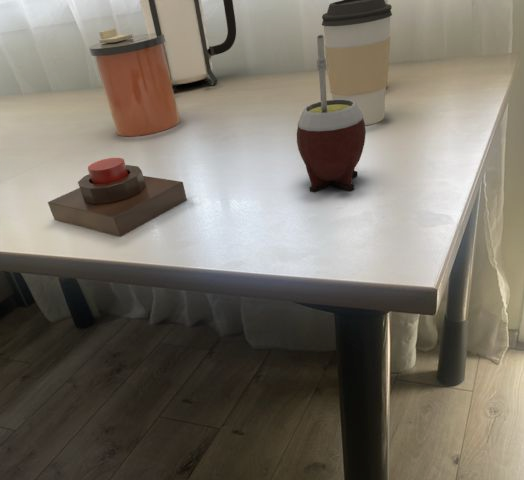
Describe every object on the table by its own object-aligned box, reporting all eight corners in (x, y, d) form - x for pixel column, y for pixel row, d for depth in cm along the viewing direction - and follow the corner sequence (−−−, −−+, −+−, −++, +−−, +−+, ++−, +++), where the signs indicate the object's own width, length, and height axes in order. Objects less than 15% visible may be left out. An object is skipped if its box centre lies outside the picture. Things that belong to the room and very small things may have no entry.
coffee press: (197, 94, 107) (160, -98, 89) (140, 95, 115) (95, -81, 97) (244, 74, 118) (219, -101, 100) (189, 76, 126) (157, -86, 108)
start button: (85, 184, 59) (80, 168, 57) (113, 171, 61) (108, 156, 60) (107, 188, 56) (102, 171, 55) (136, 175, 59) (131, 159, 58)
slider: (99, 43, 85) (96, 32, 84) (117, 38, 87) (114, 28, 86) (115, 42, 83) (112, 31, 82) (132, 37, 85) (130, 26, 84)
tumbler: (99, 135, 91) (73, 49, 83) (150, 115, 98) (130, 34, 90) (146, 139, 85) (121, 47, 77) (196, 117, 92) (179, 31, 84)
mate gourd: (338, 167, 62) (330, 18, 53) (385, 182, 56) (385, 18, 47) (286, 187, 59) (268, 33, 50) (330, 205, 54) (319, 35, 45)
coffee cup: (391, 125, 72) (392, -6, 63) (325, 132, 74) (317, 5, 65) (391, 108, 79) (391, -12, 70) (330, 114, 81) (323, -2, 72)
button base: (54, 220, 61) (41, 186, 59) (120, 188, 67) (110, 156, 65) (120, 237, 55) (108, 200, 52) (187, 200, 60) (179, 165, 58)
